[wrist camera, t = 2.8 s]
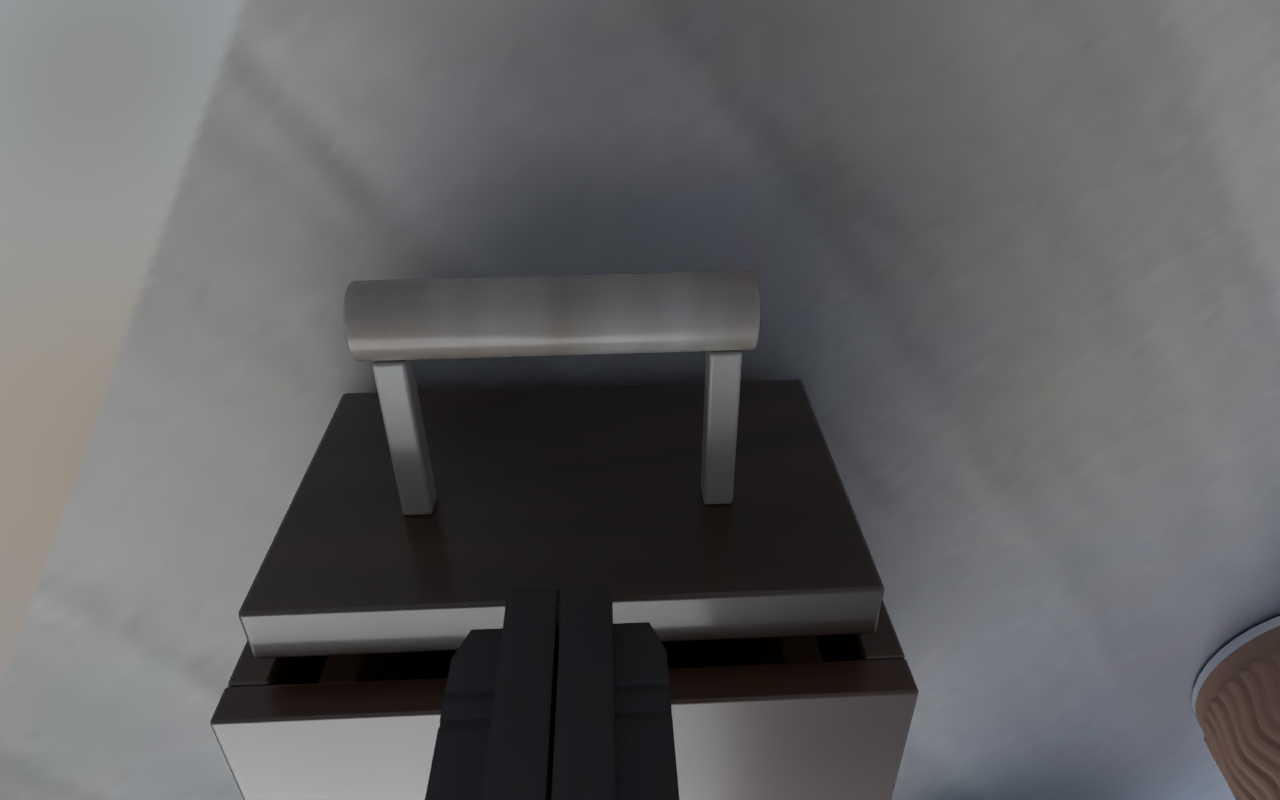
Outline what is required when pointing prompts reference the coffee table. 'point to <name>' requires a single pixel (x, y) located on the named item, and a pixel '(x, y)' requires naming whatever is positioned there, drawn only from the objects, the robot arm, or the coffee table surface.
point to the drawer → (563, 485)
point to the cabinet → (701, 712)
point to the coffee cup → (1244, 711)
